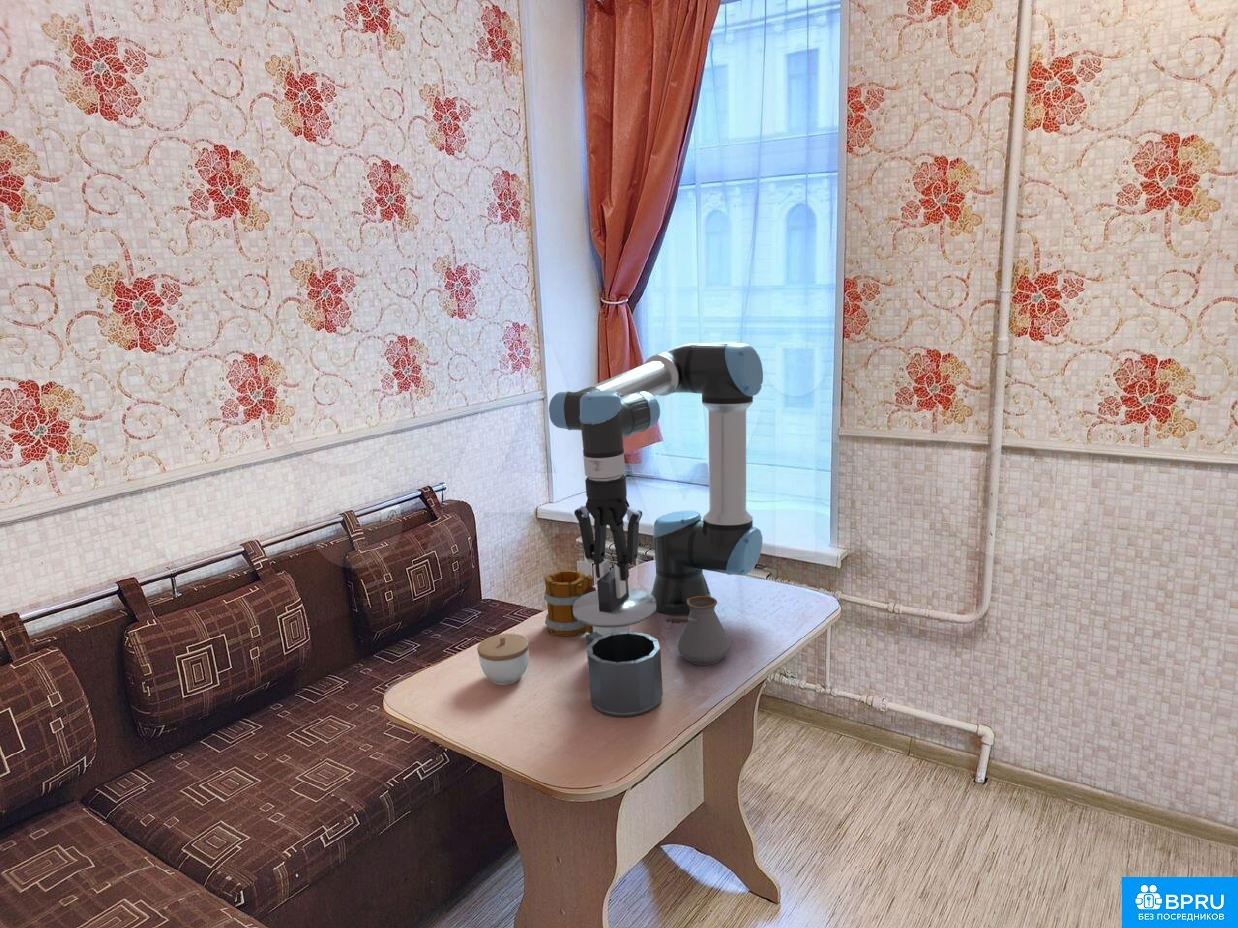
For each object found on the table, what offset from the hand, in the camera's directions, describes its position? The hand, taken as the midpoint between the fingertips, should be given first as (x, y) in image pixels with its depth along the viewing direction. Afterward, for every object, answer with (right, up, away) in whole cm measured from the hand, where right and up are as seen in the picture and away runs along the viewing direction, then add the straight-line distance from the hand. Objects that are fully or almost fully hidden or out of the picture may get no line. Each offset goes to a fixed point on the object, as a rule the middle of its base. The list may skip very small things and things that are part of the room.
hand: (613, 594), depth 159 cm
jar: (0, -18, +22) cm, 29 cm away
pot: (+1, -21, +7) cm, 22 cm away
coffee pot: (+17, -18, +16) cm, 30 cm away
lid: (0, -4, +1) cm, 4 cm away
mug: (-9, -15, +38) cm, 42 cm away
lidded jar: (-23, -21, +17) cm, 35 cm away
